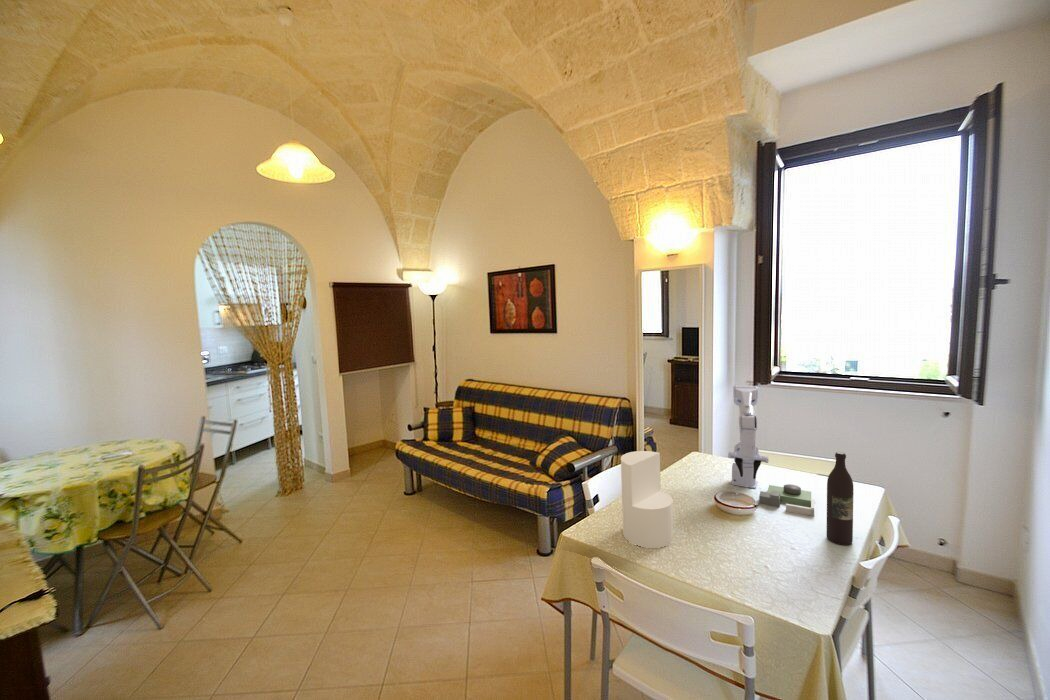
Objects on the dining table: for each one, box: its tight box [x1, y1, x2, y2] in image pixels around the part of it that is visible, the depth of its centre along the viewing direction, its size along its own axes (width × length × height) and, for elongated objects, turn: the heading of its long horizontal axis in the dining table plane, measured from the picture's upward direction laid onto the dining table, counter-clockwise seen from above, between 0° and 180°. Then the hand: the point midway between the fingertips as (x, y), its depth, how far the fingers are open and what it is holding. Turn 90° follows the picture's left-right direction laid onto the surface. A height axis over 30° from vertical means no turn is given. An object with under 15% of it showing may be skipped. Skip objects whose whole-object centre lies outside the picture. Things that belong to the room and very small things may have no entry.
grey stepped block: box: [758, 490, 781, 508], centre depth 172 cm, size 7×5×5 cm
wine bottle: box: [826, 451, 854, 546], centre depth 142 cm, size 7×7×30 cm
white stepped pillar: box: [620, 450, 675, 549], centre depth 151 cm, size 17×17×28 cm
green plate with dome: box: [767, 483, 815, 517], centre depth 171 cm, size 16×17×4 cm
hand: (748, 477), depth 175 cm, fingers open, 4 cm apart
